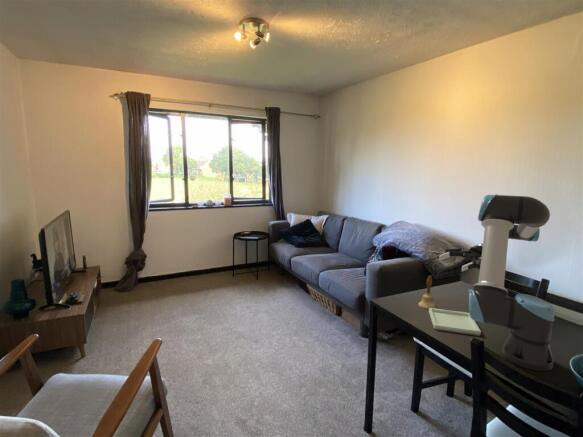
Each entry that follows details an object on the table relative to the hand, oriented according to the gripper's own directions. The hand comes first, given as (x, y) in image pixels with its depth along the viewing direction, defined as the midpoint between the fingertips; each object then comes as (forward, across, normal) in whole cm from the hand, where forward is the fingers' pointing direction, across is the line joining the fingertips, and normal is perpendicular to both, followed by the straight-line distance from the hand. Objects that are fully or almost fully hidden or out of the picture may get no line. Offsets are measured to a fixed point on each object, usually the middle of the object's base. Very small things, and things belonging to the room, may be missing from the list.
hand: (450, 263), depth 161 cm
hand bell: (+15, 0, -20) cm, 25 cm away
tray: (+18, -18, -17) cm, 30 cm away
